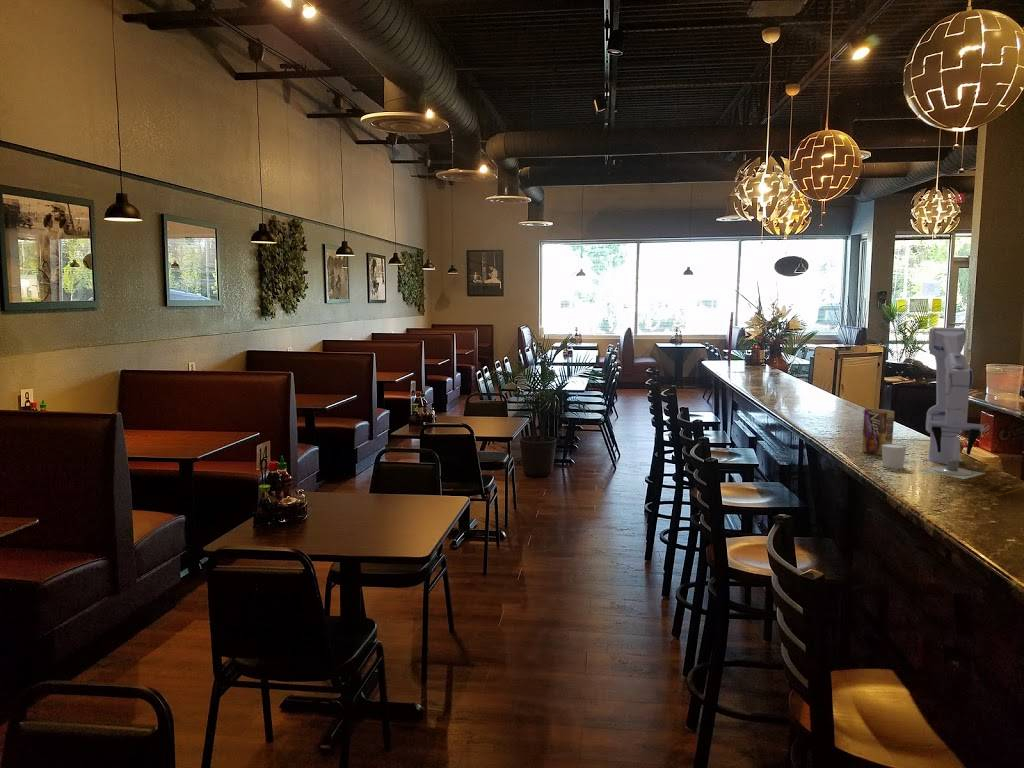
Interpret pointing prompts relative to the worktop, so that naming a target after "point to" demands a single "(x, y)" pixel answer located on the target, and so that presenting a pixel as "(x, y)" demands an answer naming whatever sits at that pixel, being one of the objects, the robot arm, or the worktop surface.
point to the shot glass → (893, 455)
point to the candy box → (877, 429)
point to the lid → (952, 469)
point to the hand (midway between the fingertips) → (953, 452)
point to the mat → (953, 475)
